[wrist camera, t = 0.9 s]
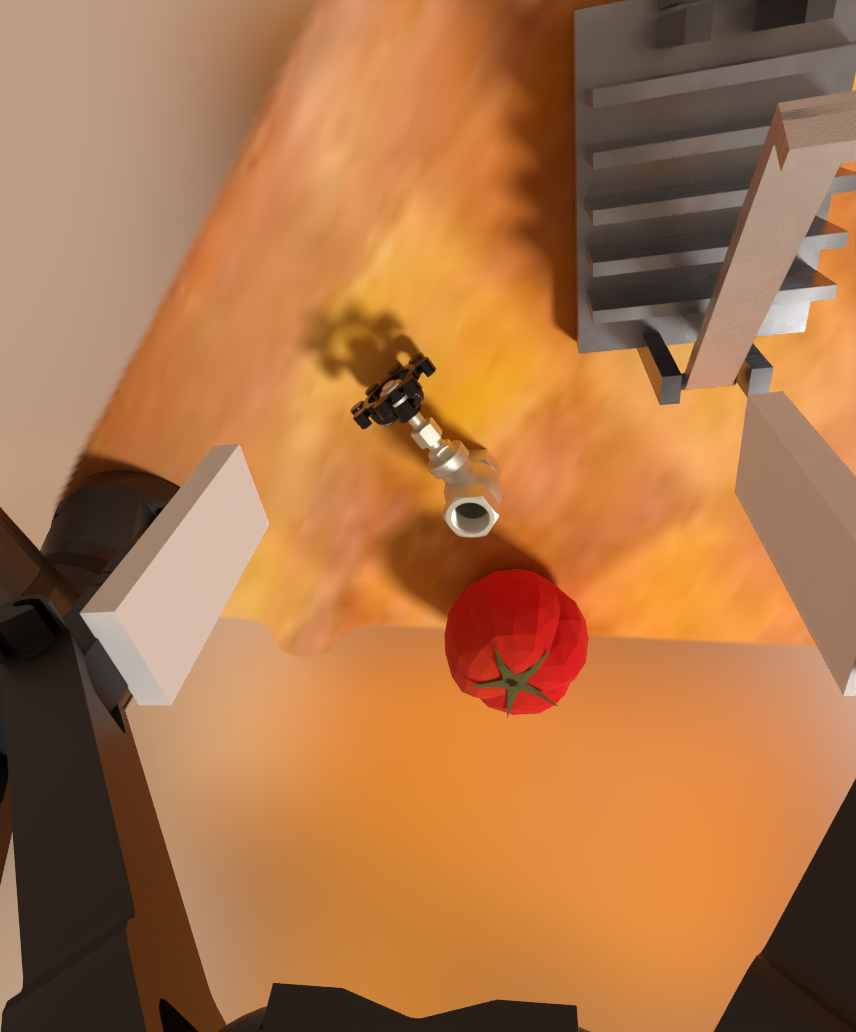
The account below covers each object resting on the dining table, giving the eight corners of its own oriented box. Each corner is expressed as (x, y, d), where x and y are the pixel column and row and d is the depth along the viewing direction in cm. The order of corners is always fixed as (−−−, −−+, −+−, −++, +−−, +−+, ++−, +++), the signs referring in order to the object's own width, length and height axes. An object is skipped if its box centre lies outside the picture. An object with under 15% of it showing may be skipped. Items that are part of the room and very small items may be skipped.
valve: (528, 467, 47) (433, 338, 42) (529, 518, 41) (420, 377, 37) (457, 505, 50) (360, 389, 45) (449, 558, 44) (338, 432, 39)
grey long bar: (731, 374, 34) (737, 408, 34) (677, 379, 35) (682, 413, 34) (868, 84, 19) (884, 135, 18) (770, 100, 20) (782, 150, 19)
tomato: (591, 639, 56) (603, 737, 48) (468, 650, 59) (459, 746, 51) (572, 535, 50) (582, 628, 41) (435, 554, 53) (418, 644, 44)
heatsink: (790, 333, 39) (848, 389, 32) (576, 354, 41) (587, 410, 34) (859, -43, 29) (965, -80, 22) (571, 13, 31) (585, -3, 24)
